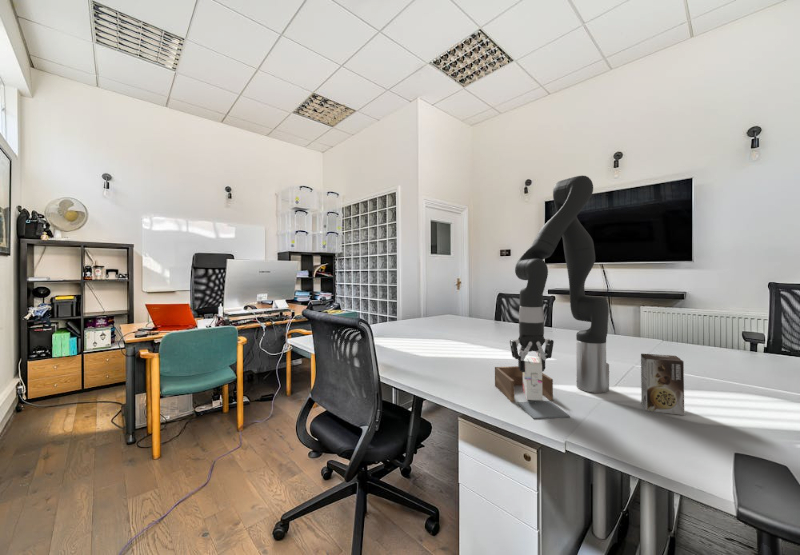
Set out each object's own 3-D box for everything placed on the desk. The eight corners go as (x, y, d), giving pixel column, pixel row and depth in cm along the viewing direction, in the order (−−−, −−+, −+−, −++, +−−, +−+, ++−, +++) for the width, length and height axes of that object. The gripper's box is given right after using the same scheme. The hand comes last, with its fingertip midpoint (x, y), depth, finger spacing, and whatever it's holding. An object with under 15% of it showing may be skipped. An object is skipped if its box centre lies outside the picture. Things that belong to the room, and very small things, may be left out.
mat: (550, 401, 104) (550, 400, 104) (570, 417, 93) (570, 416, 93) (517, 403, 103) (517, 402, 103) (533, 419, 92) (533, 417, 92)
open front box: (531, 384, 120) (531, 365, 120) (552, 400, 105) (552, 379, 105) (494, 385, 119) (494, 367, 119) (511, 402, 104) (511, 381, 104)
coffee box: (676, 407, 98) (676, 355, 98) (685, 416, 92) (685, 361, 92) (640, 402, 102) (640, 352, 102) (646, 411, 96) (646, 357, 96)
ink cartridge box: (521, 390, 109) (521, 347, 109) (537, 391, 108) (537, 348, 108) (526, 400, 101) (525, 354, 100) (543, 401, 100) (542, 354, 99)
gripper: (546, 317, 108) (547, 367, 108) (505, 318, 107) (505, 368, 108) (559, 321, 100) (559, 374, 101) (514, 322, 100) (514, 375, 100)
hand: (531, 371), depth 104 cm, fingers closed on ink cartridge box, 5 cm apart
